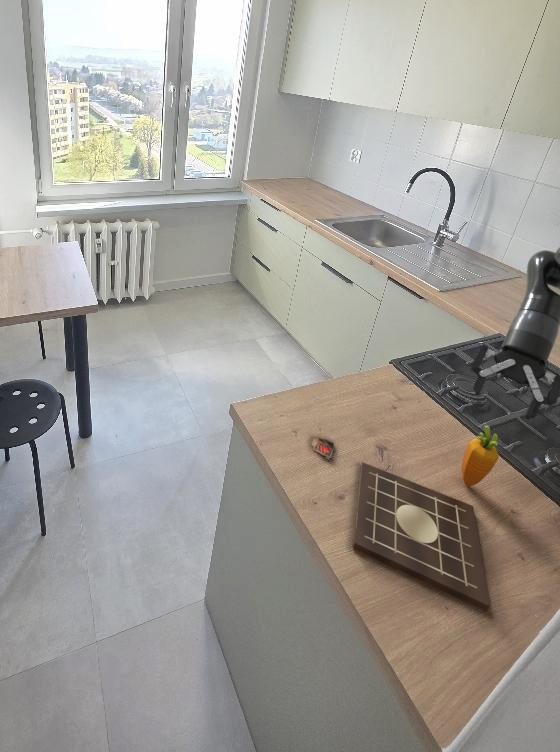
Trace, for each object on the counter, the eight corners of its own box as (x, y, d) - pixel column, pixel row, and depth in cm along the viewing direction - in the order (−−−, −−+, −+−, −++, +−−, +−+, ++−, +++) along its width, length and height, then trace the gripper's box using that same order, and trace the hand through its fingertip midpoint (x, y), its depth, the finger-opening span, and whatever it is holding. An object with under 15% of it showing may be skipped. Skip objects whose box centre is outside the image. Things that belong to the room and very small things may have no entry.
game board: (470, 510, 81) (473, 505, 80) (486, 611, 66) (490, 606, 65) (360, 466, 88) (362, 461, 88) (352, 547, 74) (354, 542, 73)
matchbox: (333, 442, 94) (334, 440, 93) (333, 461, 89) (334, 459, 89) (312, 436, 95) (312, 434, 95) (311, 454, 91) (311, 452, 90)
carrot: (480, 501, 82) (507, 447, 76) (451, 486, 85) (475, 433, 79) (481, 483, 86) (508, 430, 80) (454, 469, 89) (477, 417, 83)
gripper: (492, 316, 89) (462, 384, 86) (580, 348, 80) (549, 424, 78) (488, 327, 95) (460, 390, 92) (570, 357, 86) (541, 429, 83)
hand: (501, 406), depth 85 cm, fingers open, 8 cm apart
